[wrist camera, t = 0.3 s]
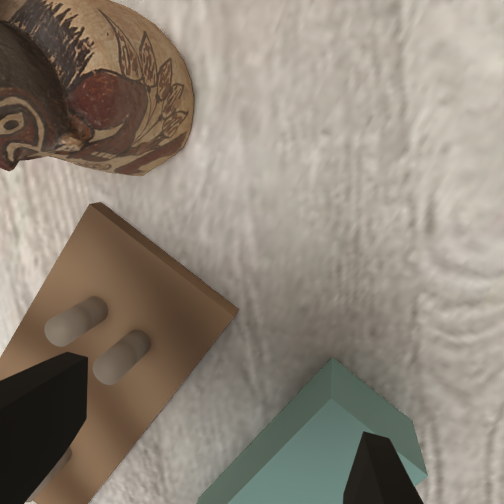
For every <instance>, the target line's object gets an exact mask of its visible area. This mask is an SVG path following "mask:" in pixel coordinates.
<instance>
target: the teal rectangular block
mask: <svg viewBox="0 0 504 504" xmlns="http://www.w3.org/2000/svg"><path fill="white" fill-rule="evenodd" d="M363 431H365V432H369V433H372V434H376V435H380V436H383V437H387V438H389V439H390V440H391V442H392V444H393V446H394V448H395V450H396V452H397V454H398V456H399V458H400V460H401V461H402V463H403V465H404V467H405V469H406V471H407V473H408V475H409V477H410V479H411V481H412V483H413V485H414V487H415V486H416V485H418V484H419V483H420V482H421V481H422V480H424V479H425V478H426V477H427V476H428V474H427V471H426V467H425V464H424V460H423V457H422V453H421V450H420V447H419V443H418V440H417V436H416V433H415V429H414V426H413V422H412V420H410V419H409V418H408V417H407V416H405V415H404V414H403V413H402V412H400V411H399V410H398V409H397V408H395V407H394V406H393V405H392V404H390V403H389V402H388V401H387V400H385V399H384V398H383V397H382V396H380V395H379V394H378V393H376V392H375V391H374V390H373V389H371V388H370V387H369V386H368V385H366V384H365V383H364V382H363V381H361V380H360V379H359V378H358V377H356V376H355V375H354V374H353V373H351V372H350V371H349V370H348V369H346V368H345V367H344V366H343V365H341V364H340V363H339V362H337V361H336V360H335V359H334V358H331V359H330V360H329V361H328V362H327V363H326V364H325V365H324V366H323V367H322V368H321V370H320V371H319V372H318V373H317V374H316V375H315V376H314V377H313V378H312V379H311V380H310V381H309V382H308V383H307V384H306V385H305V386H304V388H303V389H302V390H301V391H300V392H299V393H298V394H297V395H296V396H295V397H294V398H293V399H292V400H291V401H290V402H289V403H288V404H287V406H286V407H285V408H284V409H283V410H282V411H281V412H280V413H279V414H278V415H277V416H276V417H275V418H274V419H273V420H272V421H271V422H270V423H269V425H268V426H267V427H266V428H265V429H264V430H263V431H262V432H261V433H260V434H259V435H258V436H257V437H256V438H255V439H254V440H253V441H252V443H251V444H250V445H249V446H248V447H247V448H246V449H245V450H244V451H243V452H242V453H241V454H240V455H239V456H238V457H237V458H236V459H235V461H234V462H233V463H232V464H231V465H230V466H229V467H228V468H227V469H226V470H225V471H224V472H223V473H222V474H221V475H220V476H219V477H218V479H217V480H216V481H215V482H214V483H213V484H212V485H211V486H210V487H209V488H208V489H207V490H206V491H205V492H204V493H203V494H202V495H201V497H200V498H199V500H198V502H197V504H343V493H344V490H345V487H346V484H347V481H348V477H349V474H350V471H351V468H352V465H353V462H354V459H355V455H356V452H357V449H358V446H359V443H360V440H361V437H362V433H363Z"/></svg>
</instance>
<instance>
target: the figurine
mask: <svg viewBox="0 0 504 504" xmlns="http://www.w3.org/2000/svg"><path fill="white" fill-rule="evenodd" d="M193 110H194V97H193V92H192V85H191V80H190V77H189V74H188V71H187V69H186V66H185V63H184V61H183V60H182V58H181V56H180V55H179V53H178V51H177V49H176V47H175V46H174V45H173V44H172V43H171V42H170V40H169V39H168V38H167V37H166V36H165V35H164V34H163V33H162V31H161V30H160V29H159V28H158V27H157V26H156V25H155V24H154V23H152V22H151V21H149V20H148V19H146V18H145V17H143V16H142V15H140V14H139V13H137V12H135V11H134V10H132V9H130V8H128V7H126V6H124V5H121V4H118V3H115V2H112V1H110V0H0V168H2V169H4V170H7V171H11V170H13V169H14V168H15V167H16V165H17V163H18V162H19V161H20V160H31V159H36V158H42V157H46V156H50V157H54V158H58V159H61V160H65V161H68V162H71V163H74V164H76V165H79V166H83V167H86V168H90V169H94V170H100V171H105V172H108V173H119V174H125V175H132V176H143V175H145V174H146V173H147V172H149V171H150V170H152V169H153V168H155V167H157V166H159V165H161V164H163V163H164V162H165V161H166V160H167V159H168V158H170V157H171V156H174V155H175V154H176V153H177V152H178V151H179V150H180V149H181V148H183V147H184V145H185V143H186V141H187V138H188V136H189V134H190V130H191V125H192V118H193Z"/></svg>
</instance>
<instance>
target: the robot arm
mask: <svg viewBox="0 0 504 504" xmlns="http://www.w3.org/2000/svg"><path fill="white" fill-rule="evenodd" d="M87 384H88V357H86V356H82V355H78V354H74V353H71V352H65V353H62V354H60V355H57V356H55V357H52V358H50V359H48V360H46V361H43V362H41V363H39V364H36V365H34V366H32V367H30V368H28V369H25V370H23V371H21V372H19V373H16V374H14V375H12V376H10V377H7V378H5V379H3V380H0V504H24V503H25V502H26V501H27V499H28V498H29V497H30V496H31V495H32V493H33V492H34V491H35V490H36V488H37V487H38V486H39V485H40V484H41V482H42V481H43V480H44V479H45V477H46V476H47V475H48V474H49V473H50V471H51V470H52V469H53V468H54V466H55V465H56V464H57V463H58V461H59V460H60V459H61V458H62V456H63V455H64V454H65V452H66V451H67V449H68V448H69V446H70V445H71V443H72V442H73V440H74V438H75V437H76V435H77V434H78V432H79V430H80V429H81V427H82V426H83V424H84V422H85V421H86V419H87ZM343 504H424V503H423V502H422V500H421V498H420V496H419V494H418V492H417V490H416V489H415V487H414V485H413V483H412V481H411V479H410V477H409V475H408V473H407V471H406V469H405V467H404V465H403V463H402V461H401V460H400V458H399V456H398V454H397V452H396V450H395V448H394V446H393V444H392V442H391V440H390V439H389V438H387V437H383V436H380V435H376V434H372V433H369V432H365V431H363V433H362V437H361V440H360V443H359V446H358V449H357V452H356V455H355V459H354V462H353V465H352V468H351V471H350V474H349V477H348V481H347V484H346V487H345V490H344V493H343Z"/></svg>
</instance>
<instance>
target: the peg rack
mask: <svg viewBox="0 0 504 504" xmlns="http://www.w3.org/2000/svg"><path fill="white" fill-rule="evenodd" d="M238 311H239V309H237V308H236V307H235V306H234V305H232V304H231V303H230V302H228V301H227V300H226V299H225V298H223V297H222V296H221V295H219V294H218V293H217V292H216V291H214V290H213V289H212V288H210V287H209V286H208V285H207V284H205V283H204V282H203V281H201V280H200V279H199V278H198V277H196V276H195V275H194V274H192V273H191V272H190V271H189V270H187V269H186V268H185V267H183V266H182V265H181V264H180V263H178V262H177V261H176V260H174V259H173V258H172V257H171V256H169V255H168V254H167V253H165V252H164V251H163V250H162V249H160V248H159V247H158V246H156V245H155V244H154V243H153V242H151V241H150V240H149V239H147V238H146V237H145V236H143V235H142V234H141V233H140V232H138V231H137V230H136V229H134V228H133V227H132V226H131V225H129V224H128V223H127V222H125V221H124V220H123V219H122V218H120V217H119V216H118V215H116V214H115V213H114V212H113V211H111V210H110V209H109V208H107V207H106V206H105V205H104V204H102V203H101V202H99V203H93V204H89V206H88V207H87V209H86V211H85V213H84V214H83V216H82V218H81V220H80V221H79V223H78V225H77V226H76V228H75V230H74V232H73V233H72V235H71V237H70V239H69V240H68V242H67V244H66V245H65V247H64V249H63V251H62V252H61V254H60V256H59V257H58V259H57V261H56V263H55V264H54V266H53V268H52V270H51V271H50V273H49V275H48V276H47V278H46V280H45V282H44V283H43V285H42V287H41V289H40V290H39V292H38V294H37V295H36V297H35V299H34V301H33V302H32V304H31V306H30V308H29V309H28V311H27V313H26V314H25V316H24V318H23V320H22V321H21V323H20V325H19V326H18V328H17V330H16V332H15V333H14V335H13V337H12V339H11V340H10V342H9V344H8V345H7V347H6V349H5V351H4V352H3V354H2V356H1V358H0V380H3V379H5V378H7V377H10V376H12V375H14V374H16V373H19V372H21V371H23V370H25V369H28V368H30V367H32V366H34V365H36V364H39V363H41V362H43V361H46V360H48V359H50V358H52V357H55V356H57V355H60V354H62V353H65V352H71V353H74V354H78V355H82V356H86V357H88V384H87V419H86V421H85V422H84V424H83V426H82V427H81V429H80V430H79V432H78V434H77V435H76V437H75V438H74V440H73V442H72V443H71V445H70V446H69V448H68V449H67V451H66V452H65V454H64V455H63V456H62V458H61V459H60V460H59V461H58V463H57V464H56V465H55V466H54V468H53V469H52V470H51V471H50V473H49V474H48V475H47V476H46V477H45V479H44V480H43V481H42V482H41V484H40V485H39V486H38V487H37V488H36V490H35V491H34V492H33V493H32V495H31V496H30V497H29V498H28V499H27V501H26V502H31V501H34V502H36V503H37V504H88V503H89V501H90V500H91V499H92V497H93V496H94V495H95V494H96V492H97V491H98V490H99V489H100V487H101V486H102V485H103V483H104V482H105V481H106V480H107V478H108V477H109V476H110V475H111V473H112V472H113V471H114V469H115V468H116V467H117V466H118V464H119V463H120V462H121V461H122V459H123V458H124V457H125V455H126V454H127V453H128V452H129V450H130V449H131V448H132V447H133V445H134V444H135V443H136V441H137V440H138V439H139V438H140V436H141V435H142V434H143V433H144V431H145V430H146V429H147V427H148V426H149V425H150V424H151V422H152V421H153V420H154V419H155V417H156V416H157V415H158V413H159V412H160V411H161V410H162V408H163V407H164V406H165V404H166V403H167V402H168V401H169V399H170V398H171V397H172V396H173V394H174V393H175V392H176V390H177V389H178V388H179V387H180V385H181V384H182V383H183V382H184V380H185V379H186V378H187V376H188V375H189V374H190V373H191V371H192V370H193V369H194V368H195V366H196V365H197V364H198V362H199V361H200V360H201V359H202V357H203V356H204V355H205V354H206V352H207V351H208V350H209V348H210V347H211V346H212V345H213V343H214V342H215V341H216V340H217V338H218V337H219V336H220V334H221V333H222V332H223V331H224V329H225V328H226V327H227V326H228V324H229V323H230V322H231V320H232V319H233V318H234V317H235V315H236V314H237V312H238Z"/></svg>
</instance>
